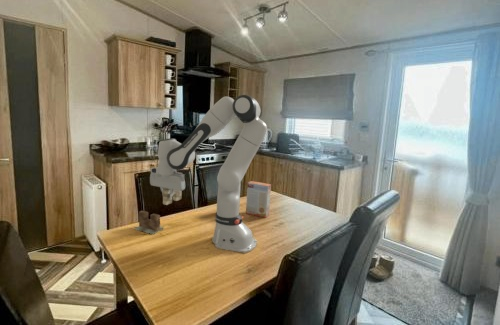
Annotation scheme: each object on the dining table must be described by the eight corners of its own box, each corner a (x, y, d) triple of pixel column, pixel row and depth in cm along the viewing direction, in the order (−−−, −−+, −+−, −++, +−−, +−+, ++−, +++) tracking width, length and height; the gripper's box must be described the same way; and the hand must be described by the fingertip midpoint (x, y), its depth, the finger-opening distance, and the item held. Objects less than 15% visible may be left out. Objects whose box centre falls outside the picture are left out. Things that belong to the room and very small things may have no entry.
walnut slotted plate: (163, 228, 144) (163, 213, 142) (152, 234, 137) (152, 218, 135) (146, 224, 149) (146, 208, 147) (135, 229, 141) (134, 213, 140)
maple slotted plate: (177, 198, 150) (178, 184, 148) (181, 198, 149) (181, 184, 147) (162, 204, 139) (162, 189, 137) (166, 205, 138) (166, 189, 136)
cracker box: (269, 215, 173) (271, 183, 169) (265, 218, 167) (268, 186, 163) (249, 210, 178) (251, 180, 175) (245, 213, 173) (247, 182, 169)
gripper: (188, 171, 136) (187, 198, 138) (156, 166, 144) (156, 191, 146) (180, 174, 130) (179, 201, 133) (147, 168, 138) (148, 194, 141)
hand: (167, 196), depth 140 cm, fingers closed on maple slotted plate, 2 cm apart
